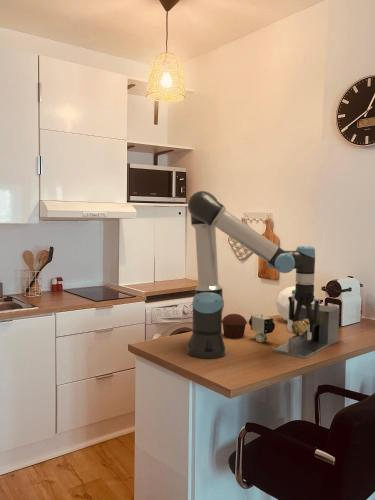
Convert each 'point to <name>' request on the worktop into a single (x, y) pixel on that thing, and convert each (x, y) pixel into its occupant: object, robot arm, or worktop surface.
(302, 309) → the housing
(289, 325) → the milk bottle
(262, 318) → the pneumatic valve
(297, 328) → the golden cylinder
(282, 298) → the ball
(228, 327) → the muffin
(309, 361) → the worktop surface
